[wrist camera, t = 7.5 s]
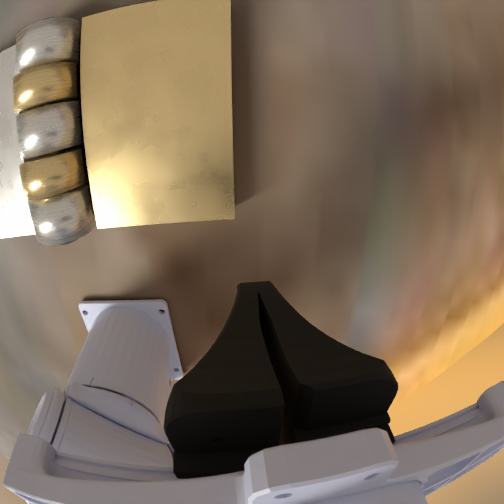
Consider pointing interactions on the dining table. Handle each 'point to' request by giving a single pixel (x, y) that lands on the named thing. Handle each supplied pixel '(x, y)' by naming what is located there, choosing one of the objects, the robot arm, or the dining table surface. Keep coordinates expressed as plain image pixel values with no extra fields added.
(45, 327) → the dining table surface
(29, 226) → the steel leaf
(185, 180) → the plate
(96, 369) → the robot arm
